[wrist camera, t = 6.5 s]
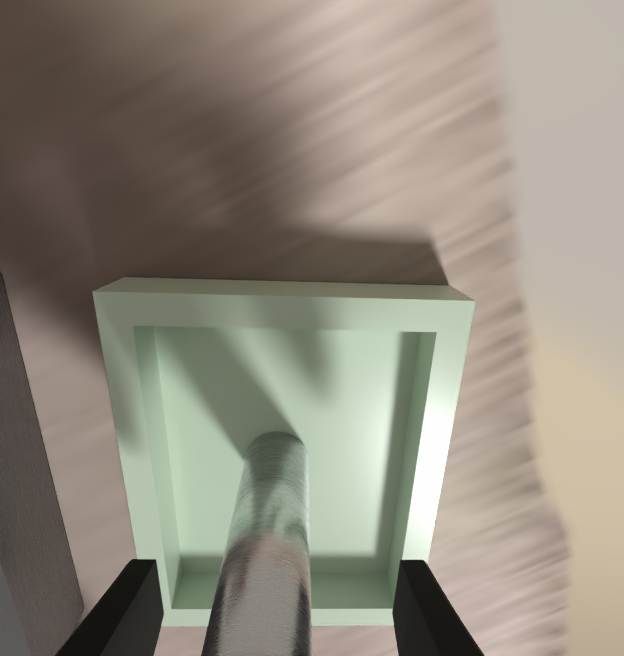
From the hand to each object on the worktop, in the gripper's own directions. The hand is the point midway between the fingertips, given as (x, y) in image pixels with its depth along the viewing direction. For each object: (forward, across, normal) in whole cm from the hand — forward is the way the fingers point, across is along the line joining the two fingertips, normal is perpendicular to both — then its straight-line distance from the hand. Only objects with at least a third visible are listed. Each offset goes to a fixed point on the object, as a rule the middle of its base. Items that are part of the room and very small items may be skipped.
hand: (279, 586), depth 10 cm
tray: (+5, 0, 0) cm, 5 cm away
